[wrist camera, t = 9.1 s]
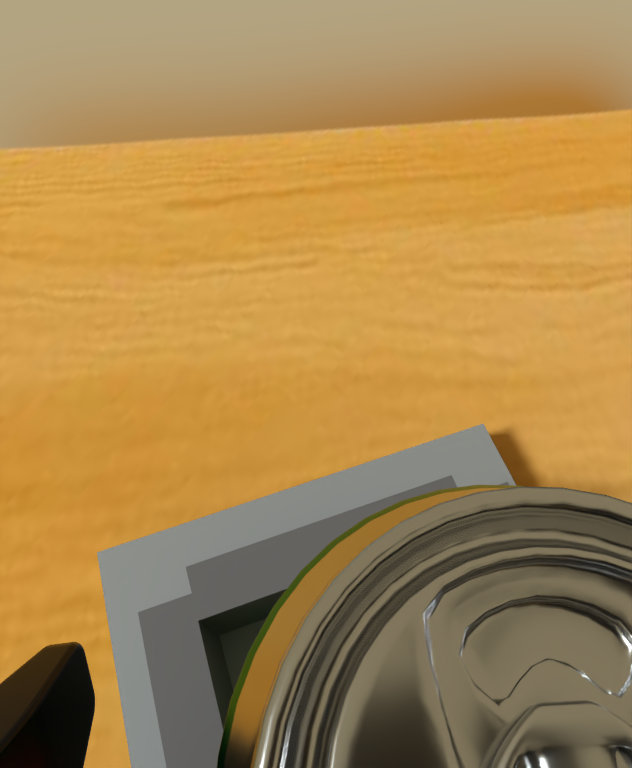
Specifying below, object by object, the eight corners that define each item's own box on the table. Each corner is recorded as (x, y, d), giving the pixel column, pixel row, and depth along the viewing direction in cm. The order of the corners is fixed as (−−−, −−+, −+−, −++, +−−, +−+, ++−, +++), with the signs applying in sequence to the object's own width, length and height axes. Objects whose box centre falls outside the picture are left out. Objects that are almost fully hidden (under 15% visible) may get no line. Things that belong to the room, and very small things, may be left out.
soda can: (474, 616, 15) (813, 423, 5) (516, 860, 13) (1403, 1565, 2) (283, 627, 15) (201, 455, 5) (289, 874, 13) (139, 1675, 2)
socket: (741, 942, 13) (897, 1030, 9) (218, 1217, 11) (171, 1454, 8) (475, 436, 19) (510, 375, 15) (108, 560, 17) (53, 523, 14)
